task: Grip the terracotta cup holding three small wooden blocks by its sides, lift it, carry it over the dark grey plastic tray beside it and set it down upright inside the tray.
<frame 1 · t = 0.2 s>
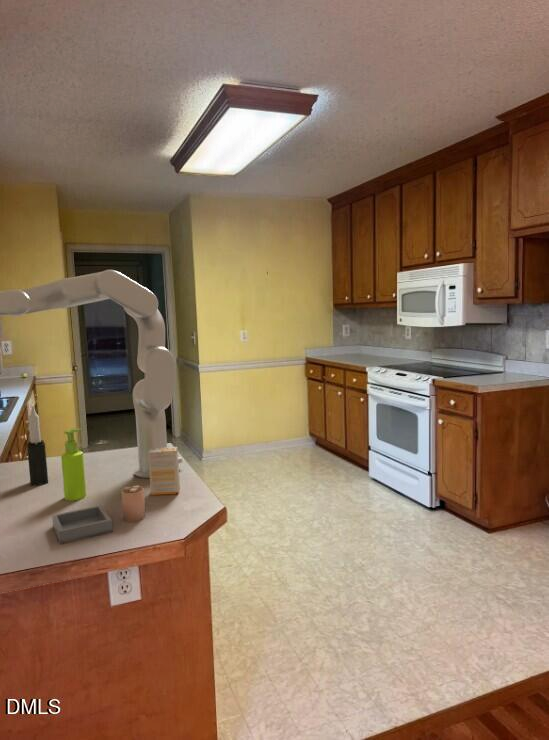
cup: (134, 517, 135), on the table
tray: (82, 529, 129), on the table
supplement box: (165, 492, 154), on the table
soap dispenser: (76, 497, 153), on the table
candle: (39, 483, 167), on the table
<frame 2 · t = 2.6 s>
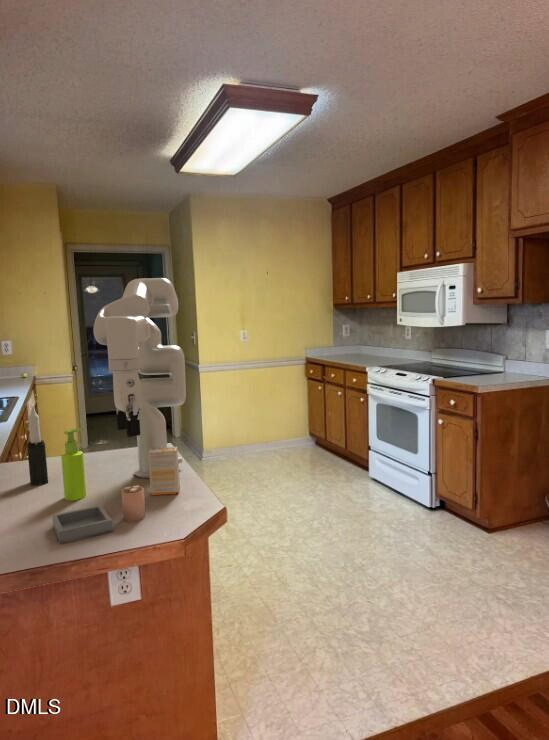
hand: (128, 432, 133), 23 cm above the table, tool pointing down, fingers open, 9 cm apart
nothing on the table moved.
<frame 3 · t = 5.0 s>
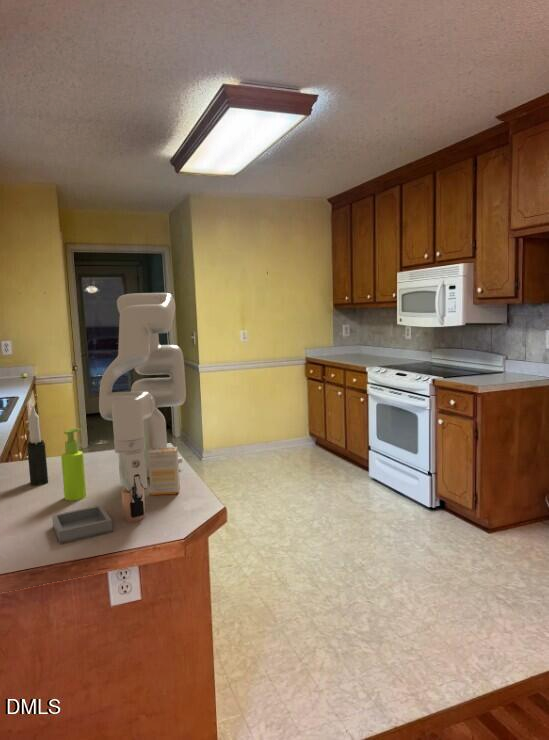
hand: (134, 511, 135), 2 cm above the table, tool pointing down, fingers closed on cup, 5 cm apart
cup: (134, 517, 135), on the table, touching gripper
everything else where it was.
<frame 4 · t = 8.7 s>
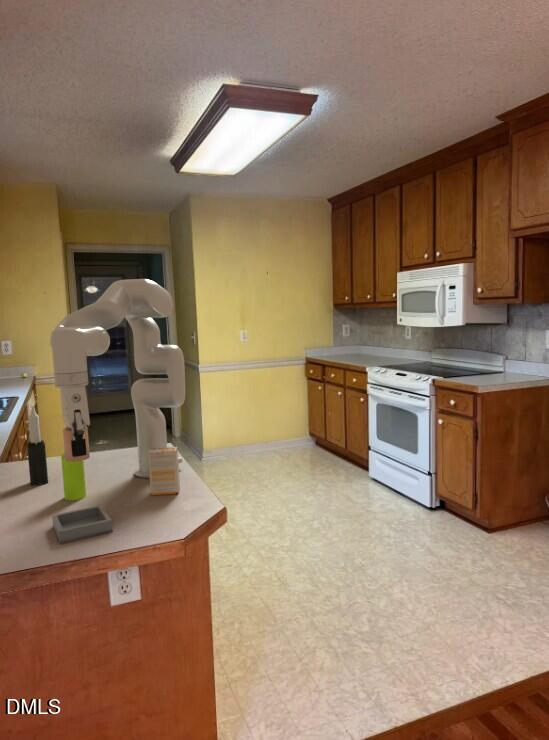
hand: (77, 452, 127), 20 cm above the table, tool pointing down, fingers closed on cup, 5 cm apart
cup: (77, 458, 127), point 18 cm above the table, touching gripper
everything else where it was.
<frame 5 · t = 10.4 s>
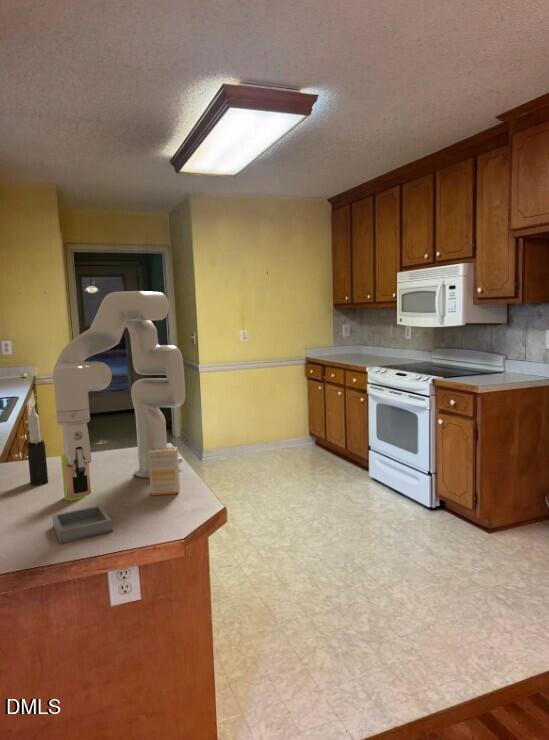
hand: (78, 487, 128), 11 cm above the table, tool pointing down, fingers closed on cup, 5 cm apart
cup: (78, 493, 128), point 9 cm above the table, touching gripper
everything else where it was.
when the fingers open (3 cm above the table, at t = 12.2 s): cup drops 1 cm, resting on tray.
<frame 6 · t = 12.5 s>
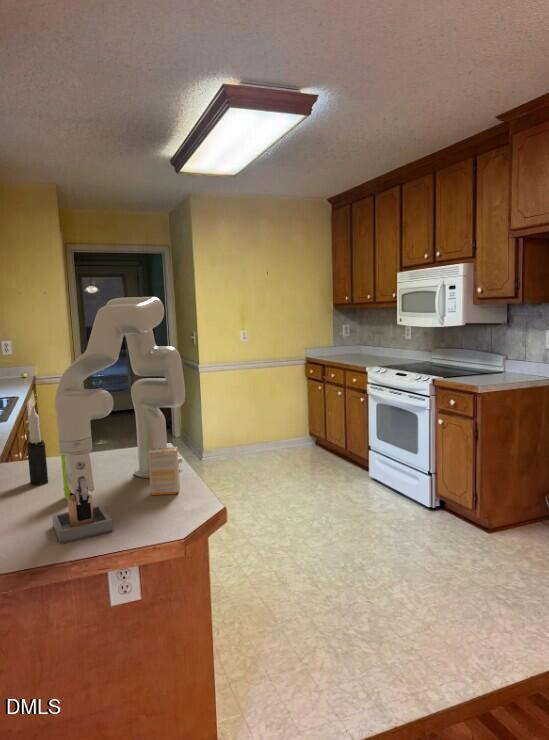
hand: (81, 513, 128), 4 cm above the table, tool pointing down, fingers open, 8 cm apart
cup: (82, 526, 129), point 1 cm above the table, touching tray
everything else where it was.
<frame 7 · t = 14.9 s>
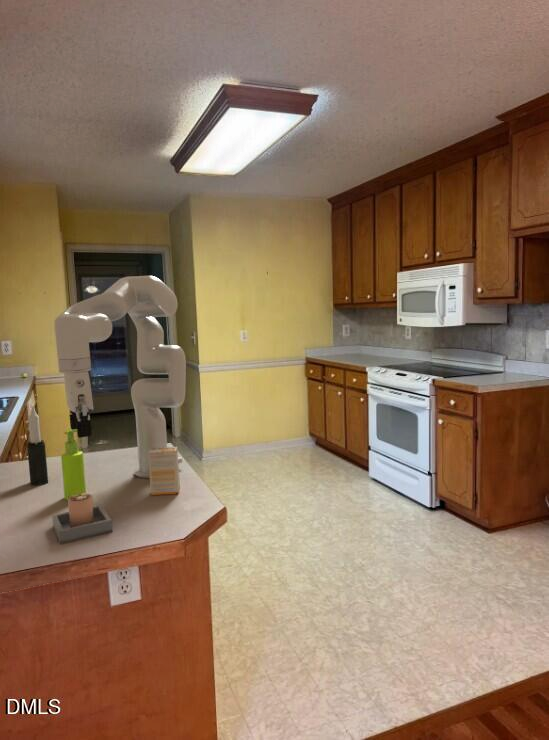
hand: (81, 432, 131), 23 cm above the table, tool pointing down, fingers open, 9 cm apart
nothing on the table moved.
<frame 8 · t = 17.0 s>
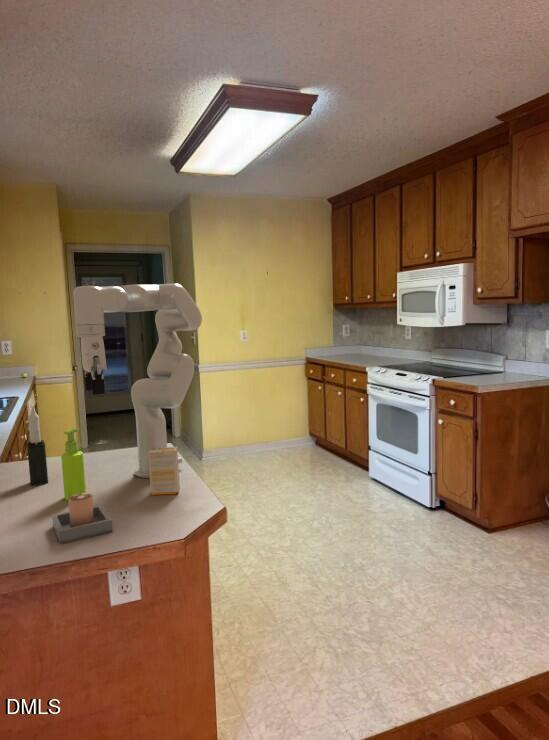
hand: (95, 391, 146), 31 cm above the table, tool pointing down, fingers open, 9 cm apart
nothing on the table moved.
at the end: cup 0.1 cm off-centre on the tray, point 0.7 cm above the tray's base; cup tilted 1°; the gripper is holding nothing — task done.
